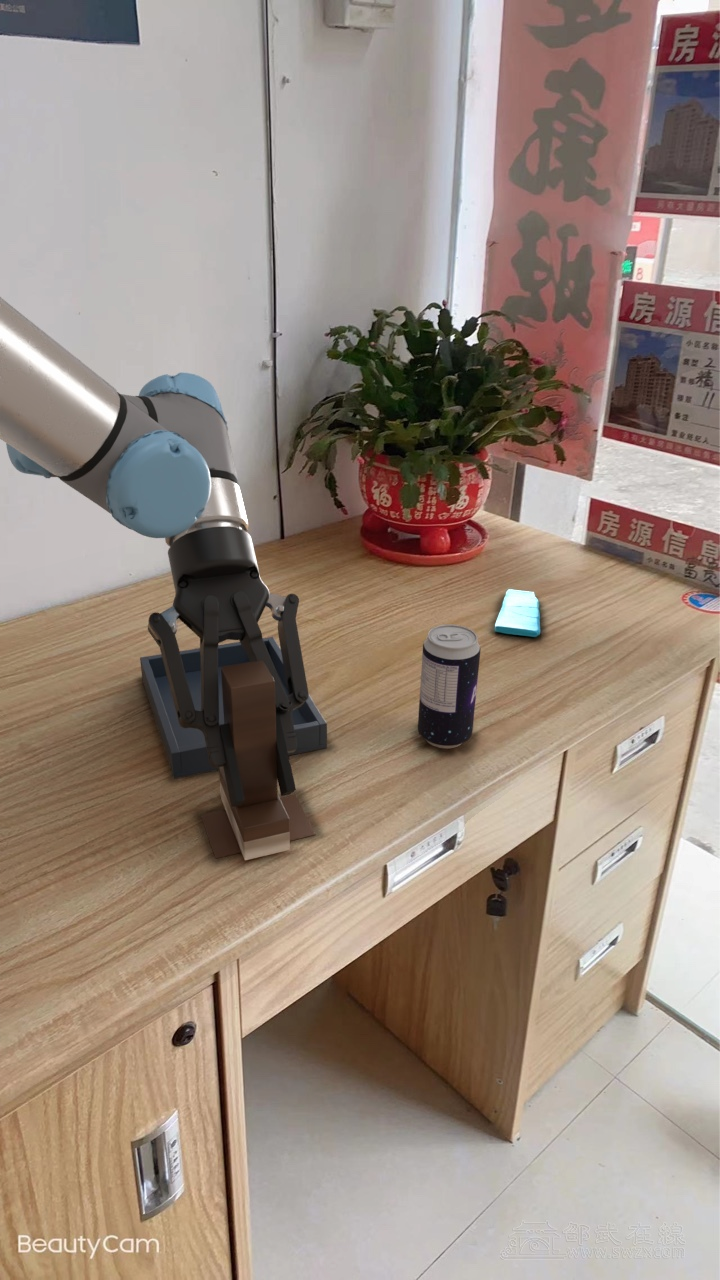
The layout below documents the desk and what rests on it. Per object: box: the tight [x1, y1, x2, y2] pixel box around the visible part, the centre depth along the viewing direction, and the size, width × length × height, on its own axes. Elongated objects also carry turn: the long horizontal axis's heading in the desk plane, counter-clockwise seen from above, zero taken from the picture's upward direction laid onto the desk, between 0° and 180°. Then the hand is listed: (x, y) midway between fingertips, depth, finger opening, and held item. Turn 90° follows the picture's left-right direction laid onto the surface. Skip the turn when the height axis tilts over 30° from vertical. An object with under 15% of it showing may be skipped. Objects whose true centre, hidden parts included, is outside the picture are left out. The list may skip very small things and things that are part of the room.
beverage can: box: [417, 624, 481, 749], centre depth 89 cm, size 6×6×12 cm
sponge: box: [494, 588, 541, 638], centre depth 117 cm, size 2×12×6 cm
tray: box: [139, 636, 328, 780], centre depth 95 cm, size 16×20×3 cm
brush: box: [218, 660, 291, 861], centre depth 75 cm, size 9×4×16 cm, turn 21°
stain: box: [200, 793, 317, 859], centre depth 79 cm, size 9×6×1 cm, turn 111°
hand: (263, 797), depth 73 cm, fingers closed on brush, 4 cm apart
